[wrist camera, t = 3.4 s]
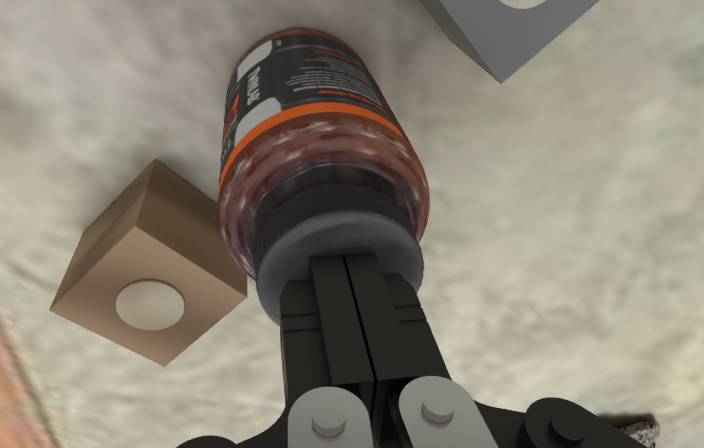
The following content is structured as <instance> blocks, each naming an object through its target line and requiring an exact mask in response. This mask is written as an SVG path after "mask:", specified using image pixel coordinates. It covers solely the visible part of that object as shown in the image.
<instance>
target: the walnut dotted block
mask: <svg viewBox="0 0 704 448" xmlns="http://www.w3.org/2000/svg"><path fill="white" fill-rule="evenodd" d="M218 215H219V213H218V204H217V203H216V202H214V201H213V200H212V199H210V198H209V197H207V196H206V195H205V194H203V193H202V192H201V191H199V190H198V189H196V188H195V187H194V186H192V185H191V184H190V183H188V182H187V181H186V180H184V179H183V178H181V177H180V176H179V175H177V174H176V173H175V172H173V171H172V170H170V169H169V168H168V167H166V166H165V165H164V164H162V163H161V162H159V161H158V160H157V159H155V160H154V161H153V162H152V163H151V164H150V165H149V166H148V167H147V168H146V169H145V170H144V171H143V172H142V173H141V174H140V175H139V176H138V177H137V178H136V179H135V180H134V181H133V182H132V183H131V184H130V185H129V186H128V187H127V188H126V189H125V190H124V191H123V192H122V193H121V195H120V196H119V197H118V198H117V199H116V200H115V201H114V202H113V203H112V204H111V205H110V206H109V207H108V208H107V209H106V210H105V211H104V212H103V213H102V214H101V215H100V216H99V217H98V218H97V219H96V220H95V221H94V222H93V223H92V224H91V225H90V226H89V227H88V228H87V229H86V230H85V231H84V232H83V234H82V237H81V239H80V241H79V244H78V246H77V248H76V250H75V253H74V255H73V257H72V259H71V262H70V264H69V266H68V269H67V271H66V273H65V275H64V278H63V280H62V282H61V285H60V287H59V289H58V291H57V294H56V296H55V298H54V300H53V303H52V305H51V307H50V311H52V312H54V313H56V314H58V315H60V316H62V317H64V318H66V319H68V320H70V321H72V322H74V323H76V324H78V325H80V326H82V327H84V328H86V329H88V330H90V331H92V332H95V333H97V334H99V335H101V336H103V337H105V338H107V339H109V340H111V341H113V342H115V343H117V344H119V345H121V346H123V347H125V348H127V349H129V350H131V351H133V352H135V353H137V354H139V355H141V356H143V357H145V358H148V359H150V360H152V361H154V362H156V363H158V364H160V365H162V366H164V367H165V366H166V365H167V364H168V363H170V362H171V361H172V360H173V359H174V358H176V357H177V356H178V355H179V354H180V353H182V352H183V351H184V350H185V349H186V348H188V347H189V346H190V345H191V344H192V343H193V342H195V341H196V340H197V339H198V338H199V337H201V336H202V335H203V334H204V333H205V332H207V331H208V330H209V329H210V328H211V327H213V326H214V325H215V324H216V323H217V322H218V321H220V320H221V319H222V318H223V317H224V316H226V315H227V314H228V313H229V312H230V311H232V310H233V309H234V308H235V307H236V306H238V305H239V304H240V303H241V302H242V301H243V300H245V299H246V298H247V274H246V273H245V272H244V271H243V270H242V269H241V268H240V267H239V266H238V264H237V263H236V262H235V261H234V259H233V257H232V256H231V254H230V252H229V251H228V249H227V246H226V244H225V242H224V240H223V237H222V234H221V232H220V229H219V217H218Z"/></svg>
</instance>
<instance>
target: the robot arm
mask: <svg viewBox="0 0 704 448" xmlns="http://www.w3.org/2000/svg"><path fill="white" fill-rule="evenodd" d="M279 302H280V343H281V357H282V369H283V380H284V394H285V409H284V411H283V413H282V415H281V416H280V417H279V419H278V420H277V421H276V422H275V423H274V424H273V425H272V426H271V427H270V428H268V429H267V430H265V431H264V432H262V433H260V434H258V435H256V436H254V437H252V438H250V439H247V440H245V441H243V442H241V443H238V444H235V443H234V442H232V441H231V440H229V439H226V438H223V437H219V436H201V437H197V438H194V439H191V440H188V441H186V442H184V443H183V444H181V445H179V446H178V447H177V448H648V447H647V446H645V445H643V444H642V443H640V442H638V441H637V440H635V439H634V438H632V437H630V436H629V435H627V434H625V433H624V432H622V431H620V430H619V429H617V428H616V427H614V426H612V425H611V424H609V423H607V422H606V421H604V420H602V419H601V418H599V417H598V416H596V415H594V414H593V413H591V412H589V411H588V410H586V409H585V408H583V407H581V406H579V405H578V404H576V403H573V402H571V401H568V400H565V399H561V398H542V399H540V400H537V401H535V402H534V403H532V404H531V405H530V406H529V408H528V409H527V411H526V413H523V412H517V411H512V410H506V409H501V408H495V407H491V406H487V405H484V404H481V403H479V402H477V401H475V400H473V399H472V397H471V396H470V394H469V393H468V392H467V391H466V390H465V389H464V388H463V387H462V386H460V385H459V384H457V383H456V382H454V381H452V379H451V377H450V375H449V373H448V370H447V368H446V365H445V363H444V361H443V358H442V356H441V353H440V351H439V348H438V346H437V343H436V341H435V338H434V336H433V334H432V331H431V329H430V326H429V324H428V322H427V321H426V316H425V314H424V312H423V309H422V308H421V304H420V302H419V299H418V297H417V294H416V292H415V289H414V287H413V286H412V285H411V284H410V283H409V282H408V281H407V280H405V279H404V278H403V277H402V276H401V275H400V274H399V273H391V274H383V273H382V270H381V267H380V264H379V261H378V258H377V256H376V254H375V253H374V252H372V253H355V254H343V255H323V256H309V259H308V279H304V280H289V281H287V283H286V285H285V287H284V289H283V291H282V293H281V295H280V297H279Z"/></svg>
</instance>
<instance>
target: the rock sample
mask: <svg viewBox="0 0 704 448" xmlns="http://www.w3.org/2000/svg"><path fill="white" fill-rule="evenodd" d="M657 407H658V406H657ZM619 430H620V431H622V432H624V433H625V434H627V435H629V436H630V437H632V438H634V439H635V440H637V441H638V442H640V443H642V444H643V445H645V446H647V447H648V448H655V444H656V441H657V439H658V436H659V434H660V426H659V424H658V422H639V423H635V424H631V425H628V426H623V427H621V428H619Z"/></svg>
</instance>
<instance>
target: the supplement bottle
mask: <svg viewBox="0 0 704 448" xmlns="http://www.w3.org/2000/svg"><path fill="white" fill-rule="evenodd" d="M429 209H430V195H429V187H428V183H427V179H426V176H425V172H424V169H423V166H422V164H421V162H420V160H419V158H418V156H417V154H416V153H415V151H414V149H413V147H412V145H411V143H410V141H409V140H408V138H407V136H406V135H405V133H404V131H403V129H402V128H401V126H400V124H399V122H398V121H397V119H396V117H395V115H394V114H393V112H392V110H391V108H390V107H389V105H388V103H387V102H386V100H385V98H384V96H383V94H382V92H381V91H380V89H379V87H378V85H377V84H376V82H375V80H374V79H373V77H372V75H371V74H370V73H369V71H368V70H367V68H366V66H365V64H364V63H363V61H362V60H361V59H360V57H359V56H358V55H357V54H356V53H355V52H354V51H353V49H352V48H350V47H349V46H348V45H347V44H345V43H344V42H342V41H340V40H339V39H337V38H335V37H332V36H330V35H328V34H325V33H321V32H317V31H311V30H291V31H284V32H281V33H277V34H275V35H272V36H270V37H268V38H267V39H265V40H262V41H261V42H259V43H258V44H256V45H255V46H254V47H253V48H252V49H250V50H249V51H248V52H247V53H246V54H245V56H244V57H243V58H242V59H241V60H240V62H239V63H238V65H237V67H236V68H235V70H234V73H233V75H232V77H231V80H230V84H229V87H228V90H227V95H226V105H225V116H224V128H223V142H222V155H221V169H220V178H219V199H218V213H219V215H218V217H219V229H220V232H221V234H222V237H223V240H224V242H225V244H226V246H227V249H228V251H229V252H230V254H231V256H232V257H233V259H234V261H235V262H236V263H237V264H238V266H239V267H240V268H241V269H242V270H243V271H244V272H245V273H246V274H247V275H248V276H249V277H251V278H252V279H253V280H255V281H256V287H257V293H258V297H259V300H260V302H261V305H262V307H263V308H264V310H265V311H266V313H267V314H268V316H269V317H270V318H271V319H272V320H273V321H274V322H275V323H276V324H278V325H279V326H280V302H279V297H280V295H281V293H282V291H283V289H284V287H285V285H286V283H287V281H289V280H304V279H308V259H309V256H323V255H343V254H355V253H372V252H374V253H375V254H376V256H377V258H378V261H379V264H380V267H381V270H382V273H383V274H391V273H399V274H400V275H401V276H402V277H403V278H404V279H405V280H407V281H408V282H409V283H410V284H411V285H412V286H413V287H414V289H415V292H416V294H417V292H418V290H419V288H420V286H421V283H422V279H423V270H424V261H423V256H422V252H421V248H420V246H419V242H420V240H421V238H422V236H423V233H424V231H425V228H426V225H427V221H428V217H429Z"/></svg>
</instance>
